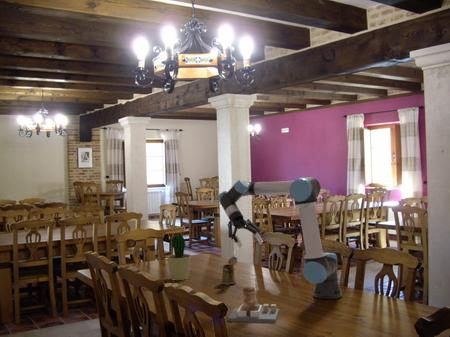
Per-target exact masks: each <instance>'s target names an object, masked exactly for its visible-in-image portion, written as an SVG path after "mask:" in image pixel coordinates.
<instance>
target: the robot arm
mask: <svg viewBox="0 0 450 337" xmlns="http://www.w3.org/2000/svg"><path fill="white" fill-rule="evenodd" d="M321 190H322V186H321V183H320V181H319V180H318V179H317V178H315V177H313V176H312V177H311V176H306V177H299V178H296V179H294V180H287V181H285V180H283V181H280V180H279V181H257V182H256V181H254V182H253V181H248V182H247V181H245V180H243V179H238V180H237V181H236V182H235V183H234V184H233V186H231V187H230V189H229V190H224V191H222V192H220V193H219V194H218V196H217V199H218V201H219V204H220V205H221V207H222V209H223V210H224V212H225V214H226V216H227V218H228V223H227V224H226V225H227V227H228V233H227V234H228V237H227V238H230V239H231V240H233V241H234V243H236V244H237V247H238V248H239V249H241V248H242V247H243V243H242V242H241V240H240V238H239V236H238V235H237V232H238V230H241V229H242V230H243V229H244V230H247V231H249V232H250V233H252V234H254V237H255V239H256V240H257V242H258V244H259V245H262V244H263V242H264V241H263V239H262V236H261V234H260V233H261V231H262V230H261V228H259V227H258V226H257V225H256V224H255V223H253V222H252V220H250V219H249V218H247V219H246V220H245V218H244V216H243V214H242V212H241V211H240V209H239V207H238V204H237V202H238V201H239V200H240V199H241V198H242V197H247V196H281V195H282V196H283V195H284V196H285V195H289V196H290V197H291V199H292V200H293V201H294V206H295V207H297V208H298V214H299V219H300V225H301V232H302V235H303V243H304V249H305V255H304V256H303V261H304V266H303V268H302V274H303V277H304V278H305V280H306V281H308V282H309V283H310V284H314V287H313V290H312V295H313V297H315V299H319V300H320V299H321V300H336V299H340V298H341V297H342V296H343V295H342V294H343V292H342V289H341V286H340V283H339V276H338V272H339V271H338V256H337V254H336V253H333V252H324V250H323V246H322V241H321V240H322V238H321V233H320V228H319V222H318V215H317V208H316V204H317V203H318V197H317V196H319V194H320V192H321ZM233 227H234V228H233Z"/></svg>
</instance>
